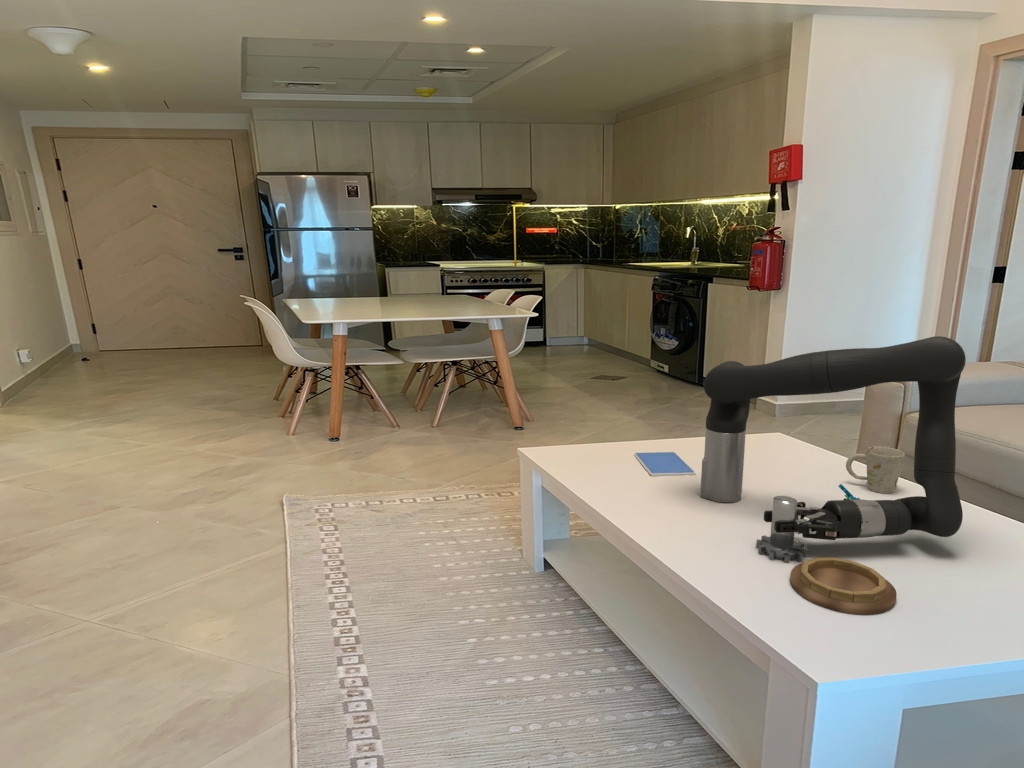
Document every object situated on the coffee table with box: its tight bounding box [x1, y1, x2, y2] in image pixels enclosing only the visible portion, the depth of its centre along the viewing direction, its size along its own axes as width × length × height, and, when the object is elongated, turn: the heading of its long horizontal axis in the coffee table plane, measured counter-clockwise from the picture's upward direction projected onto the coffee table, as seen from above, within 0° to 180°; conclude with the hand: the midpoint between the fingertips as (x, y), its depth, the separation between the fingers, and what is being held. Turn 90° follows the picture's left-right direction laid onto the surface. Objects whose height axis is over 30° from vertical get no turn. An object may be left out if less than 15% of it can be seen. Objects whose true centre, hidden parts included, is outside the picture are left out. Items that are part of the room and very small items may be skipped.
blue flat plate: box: [633, 451, 696, 477], centre depth 187 cm, size 19×13×1 cm, turn 4°
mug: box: [845, 446, 905, 494], centre depth 167 cm, size 8×13×10 cm, turn 58°
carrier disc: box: [789, 557, 897, 616], centre depth 118 cm, size 17×17×3 cm
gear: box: [838, 483, 861, 500], centre depth 150 cm, size 11×6×10 cm
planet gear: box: [755, 495, 808, 563], centre depth 132 cm, size 9×9×11 cm
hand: (770, 521), depth 132 cm, fingers closed on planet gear, 4 cm apart
